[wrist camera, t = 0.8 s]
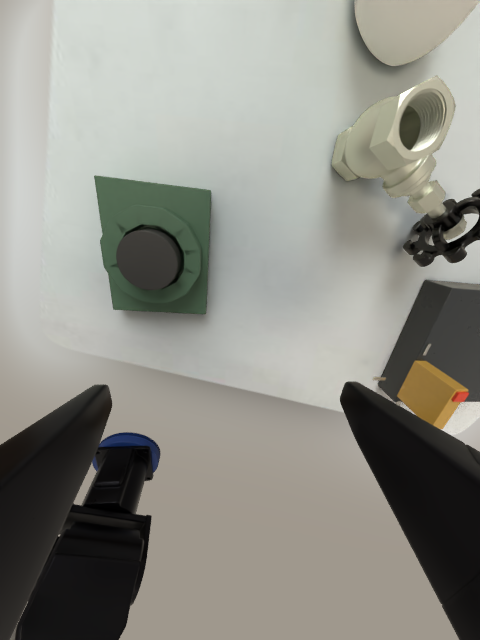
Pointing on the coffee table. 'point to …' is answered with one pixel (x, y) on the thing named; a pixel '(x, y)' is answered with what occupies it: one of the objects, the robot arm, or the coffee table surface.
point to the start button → (148, 259)
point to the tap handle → (431, 393)
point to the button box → (168, 217)
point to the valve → (411, 165)
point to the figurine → (408, 26)
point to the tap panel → (439, 337)
